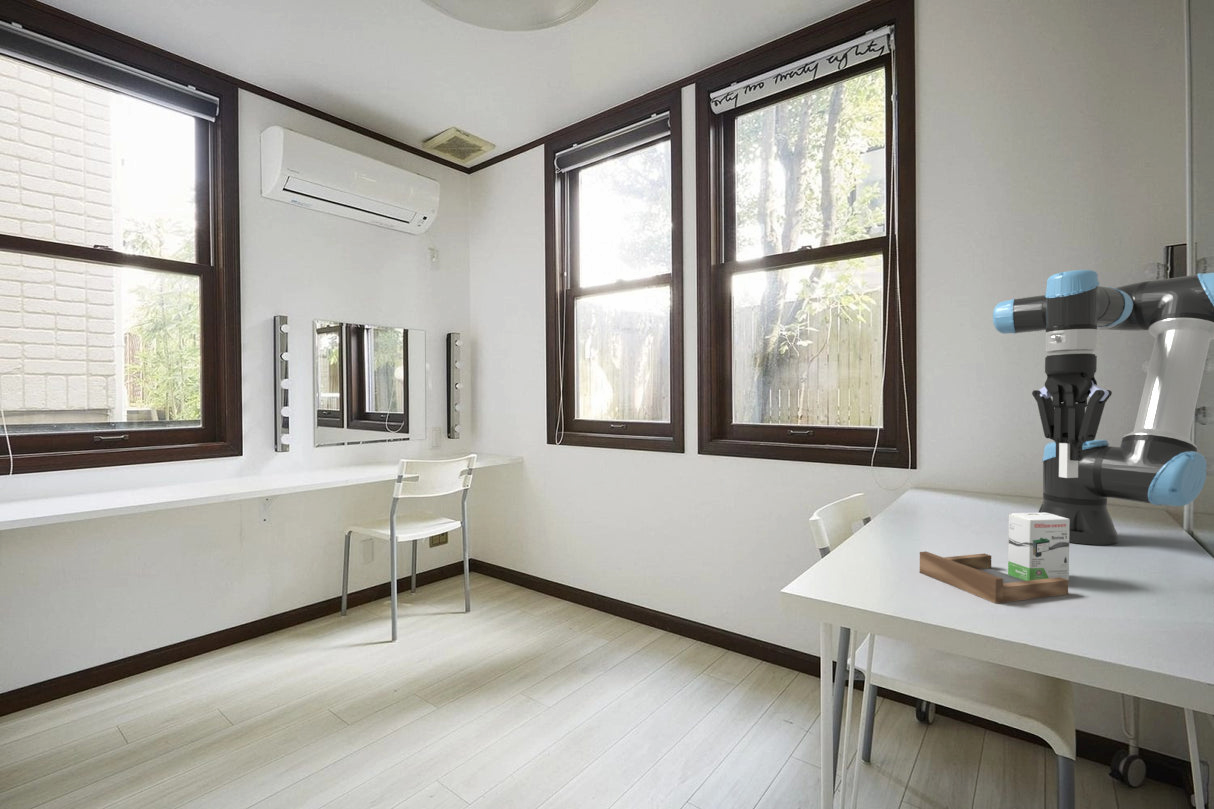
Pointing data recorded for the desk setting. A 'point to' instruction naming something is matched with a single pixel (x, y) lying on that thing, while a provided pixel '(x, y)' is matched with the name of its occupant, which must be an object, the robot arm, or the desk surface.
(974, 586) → the u rest
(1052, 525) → the ink box
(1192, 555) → the desk surface
